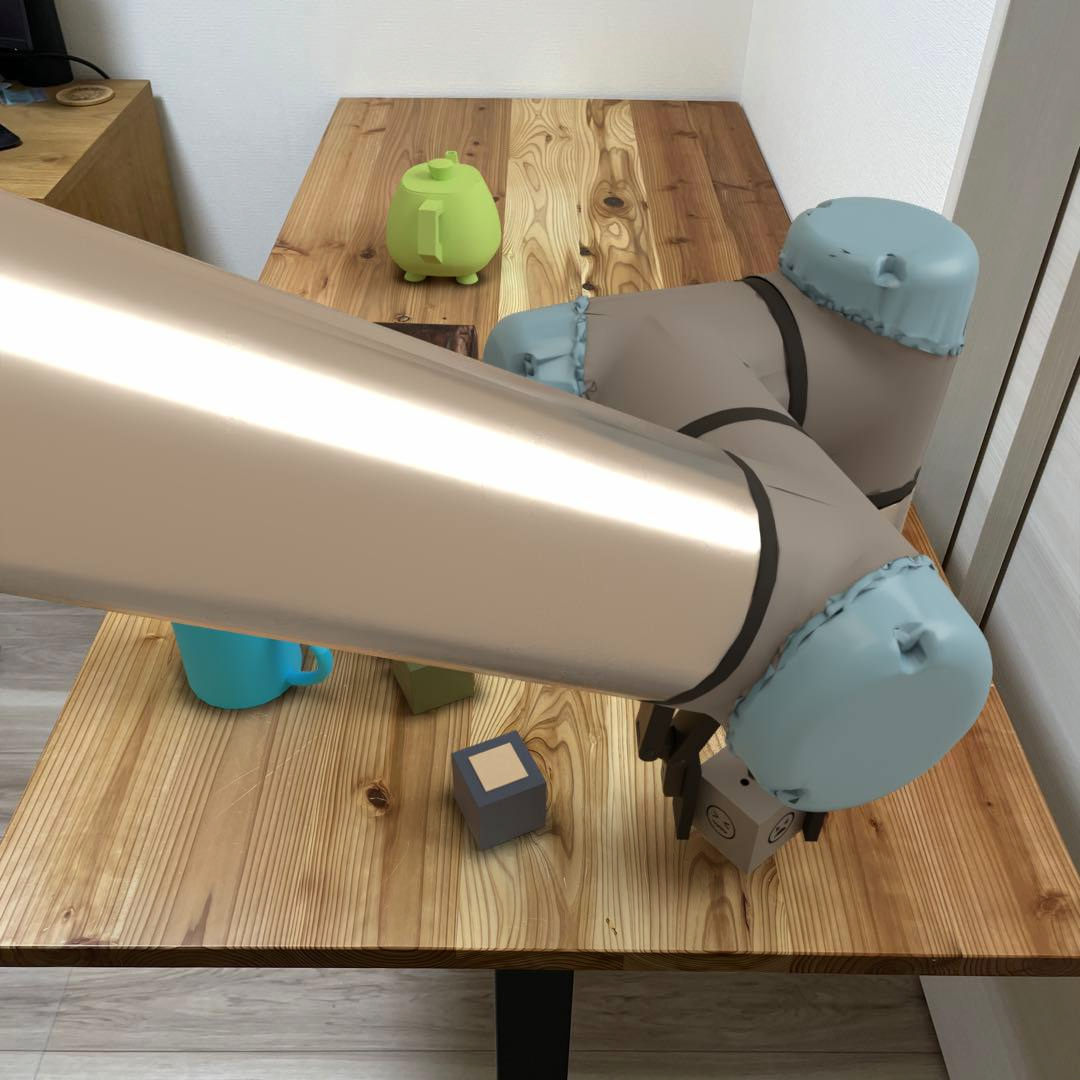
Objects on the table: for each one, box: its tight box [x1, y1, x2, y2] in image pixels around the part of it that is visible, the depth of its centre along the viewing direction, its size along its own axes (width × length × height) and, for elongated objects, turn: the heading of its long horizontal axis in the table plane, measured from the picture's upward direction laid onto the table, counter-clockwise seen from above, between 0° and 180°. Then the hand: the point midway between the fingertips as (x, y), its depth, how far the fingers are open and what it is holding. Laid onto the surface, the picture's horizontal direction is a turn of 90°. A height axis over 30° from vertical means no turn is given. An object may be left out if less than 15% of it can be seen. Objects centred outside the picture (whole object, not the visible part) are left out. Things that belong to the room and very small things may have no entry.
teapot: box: [385, 150, 502, 285], centre depth 124 cm, size 20×13×13 cm
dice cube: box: [691, 745, 807, 876], centre depth 64 cm, size 5×5×5 cm
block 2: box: [450, 729, 548, 852], centre depth 67 cm, size 4×4×5 cm
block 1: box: [391, 659, 474, 716], centre depth 75 cm, size 4×4×5 cm
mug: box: [170, 622, 334, 710], centre depth 75 cm, size 12×8×8 cm
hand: (743, 821), depth 65 cm, fingers closed on dice cube, 7 cm apart
